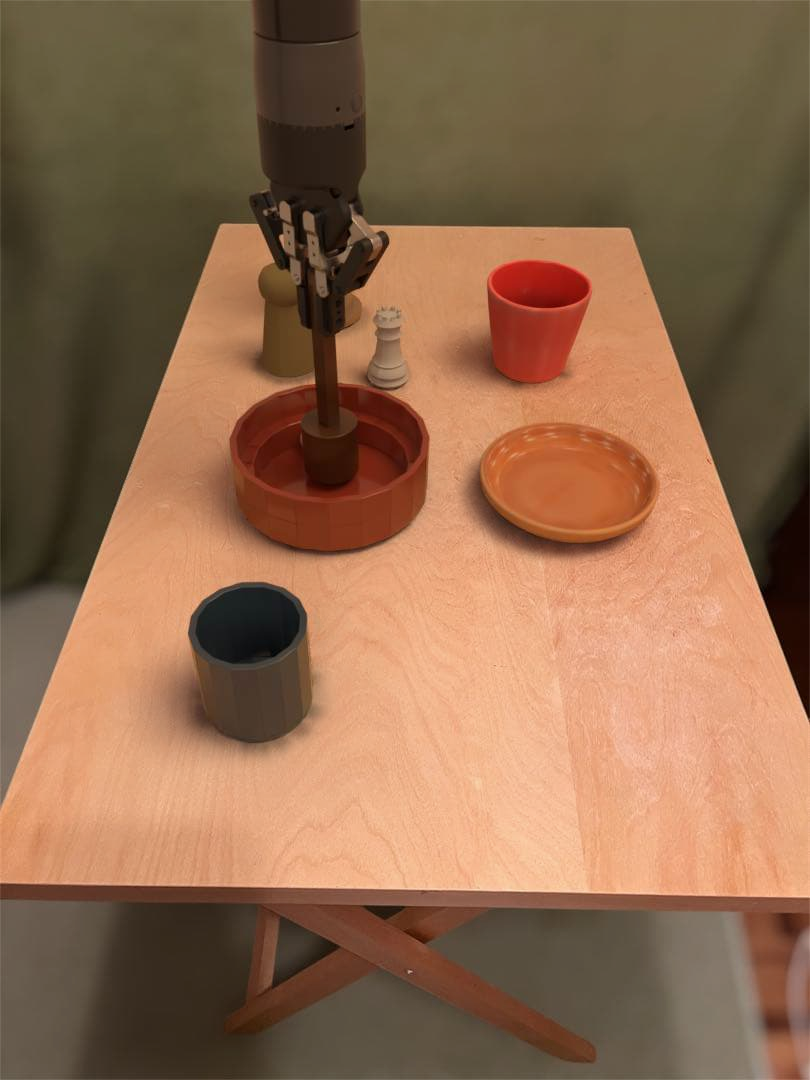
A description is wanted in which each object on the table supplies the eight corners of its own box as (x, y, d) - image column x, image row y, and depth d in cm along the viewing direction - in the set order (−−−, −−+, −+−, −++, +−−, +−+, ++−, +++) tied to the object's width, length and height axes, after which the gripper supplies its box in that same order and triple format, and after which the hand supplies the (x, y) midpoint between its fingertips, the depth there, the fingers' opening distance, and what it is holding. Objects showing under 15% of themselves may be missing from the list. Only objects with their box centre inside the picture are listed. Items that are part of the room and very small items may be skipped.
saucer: (518, 427, 91) (521, 402, 89) (674, 477, 86) (681, 452, 84) (447, 519, 81) (449, 493, 79) (620, 583, 76) (626, 557, 73)
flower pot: (597, 379, 98) (613, 297, 91) (506, 400, 95) (516, 315, 88) (549, 332, 105) (561, 252, 98) (463, 349, 102) (469, 268, 95)
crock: (252, 762, 62) (240, 689, 57) (181, 699, 66) (164, 625, 60) (334, 695, 66) (331, 622, 61) (264, 639, 70) (254, 565, 65)
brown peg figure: (283, 341, 102) (276, 248, 95) (328, 357, 100) (324, 263, 93) (250, 366, 98) (239, 271, 91) (296, 383, 96) (289, 287, 89)
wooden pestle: (330, 491, 81) (317, 291, 68) (293, 467, 83) (273, 271, 71) (370, 466, 84) (364, 269, 71) (333, 444, 86) (321, 251, 74)
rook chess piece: (394, 395, 95) (395, 327, 89) (359, 382, 97) (357, 314, 91) (416, 375, 98) (419, 308, 92) (381, 363, 99) (382, 296, 94)
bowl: (329, 585, 75) (327, 531, 70) (198, 491, 83) (188, 438, 79) (464, 489, 84) (469, 436, 80) (334, 413, 92) (332, 362, 88)
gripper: (204, 92, 64) (232, 316, 76) (341, 141, 57) (348, 378, 69) (285, 70, 68) (299, 286, 80) (421, 113, 61) (415, 342, 73)
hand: (322, 328), depth 74 cm, fingers closed on wooden pestle, 1 cm apart
